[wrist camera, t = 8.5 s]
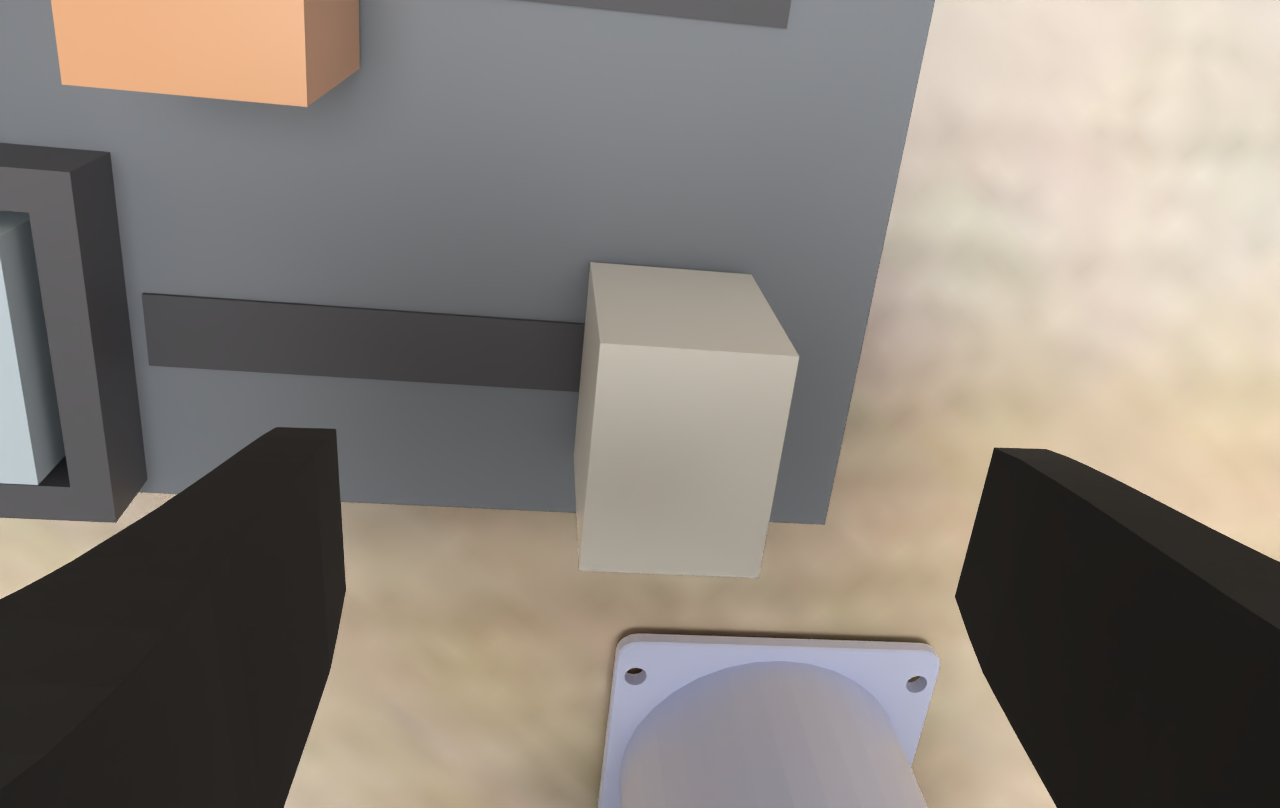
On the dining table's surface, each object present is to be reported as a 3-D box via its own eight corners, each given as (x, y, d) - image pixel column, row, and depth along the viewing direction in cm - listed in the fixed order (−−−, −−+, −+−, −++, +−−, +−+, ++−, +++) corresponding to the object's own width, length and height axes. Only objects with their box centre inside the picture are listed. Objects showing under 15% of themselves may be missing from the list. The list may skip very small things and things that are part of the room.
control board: (808, 489, 23) (845, 569, 20) (-154, 440, 21) (-269, 523, 18) (1011, -531, 15) (1118, -637, 13) (-463, -792, 13) (-751, -997, 10)
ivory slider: (721, 463, 20) (758, 578, 17) (574, 455, 20) (578, 570, 16) (751, 274, 19) (799, 356, 15) (590, 261, 18) (600, 343, 15)
